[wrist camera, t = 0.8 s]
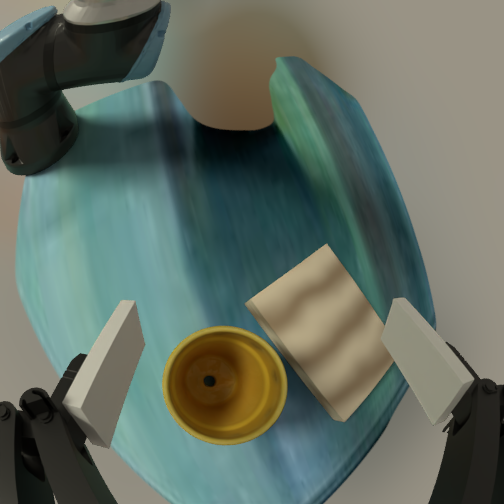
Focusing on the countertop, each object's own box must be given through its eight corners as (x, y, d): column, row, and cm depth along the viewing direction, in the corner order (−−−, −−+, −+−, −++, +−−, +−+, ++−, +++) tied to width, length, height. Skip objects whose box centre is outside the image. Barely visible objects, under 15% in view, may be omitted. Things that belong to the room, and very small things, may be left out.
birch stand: (244, 303, 33) (250, 298, 31) (317, 250, 40) (326, 243, 37) (333, 419, 30) (344, 422, 28) (389, 353, 36) (400, 351, 34)
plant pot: (175, 430, 24) (180, 457, 16) (155, 343, 28) (151, 334, 19) (261, 411, 28) (300, 426, 20) (242, 330, 32) (273, 315, 23)
